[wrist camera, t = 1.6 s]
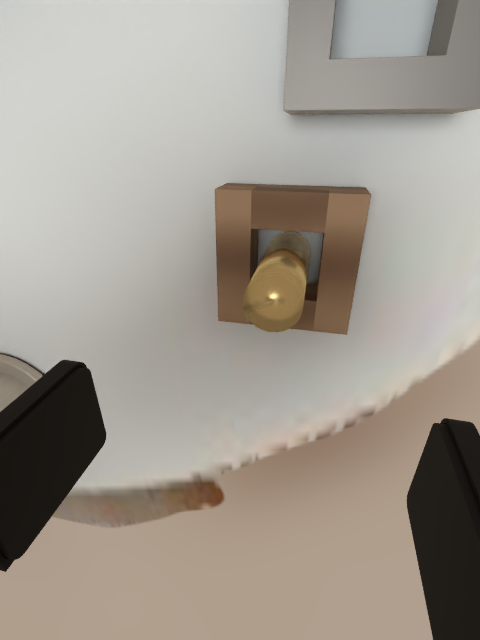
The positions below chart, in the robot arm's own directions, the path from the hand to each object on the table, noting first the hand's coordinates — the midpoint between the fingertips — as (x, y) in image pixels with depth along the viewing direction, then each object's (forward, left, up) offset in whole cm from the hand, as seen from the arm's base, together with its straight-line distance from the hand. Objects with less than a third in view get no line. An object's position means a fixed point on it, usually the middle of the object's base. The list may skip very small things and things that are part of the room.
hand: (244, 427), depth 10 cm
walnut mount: (0, 0, -17) cm, 17 cm away
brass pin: (0, 0, -17) cm, 17 cm away
